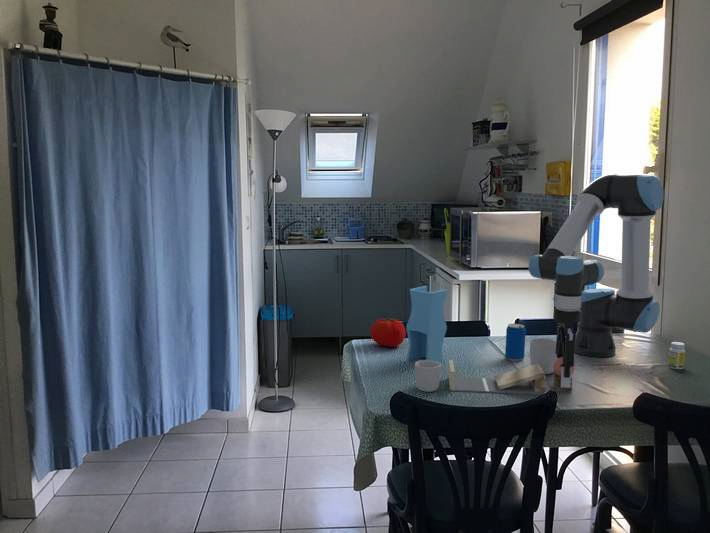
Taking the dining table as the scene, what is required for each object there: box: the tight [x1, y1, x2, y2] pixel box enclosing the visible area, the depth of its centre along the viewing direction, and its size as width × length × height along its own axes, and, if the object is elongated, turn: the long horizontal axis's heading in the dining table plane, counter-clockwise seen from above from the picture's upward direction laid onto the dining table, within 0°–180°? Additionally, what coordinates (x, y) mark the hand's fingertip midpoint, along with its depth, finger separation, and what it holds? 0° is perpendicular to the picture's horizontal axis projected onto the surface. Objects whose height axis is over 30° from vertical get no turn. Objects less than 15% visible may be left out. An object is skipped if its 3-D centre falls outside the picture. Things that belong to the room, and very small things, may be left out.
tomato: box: [370, 317, 407, 348], centre depth 239 cm, size 13×12×11 cm
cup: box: [414, 359, 442, 393], centre depth 193 cm, size 11×8×8 cm
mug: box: [529, 338, 558, 375], centre depth 211 cm, size 13×9×10 cm
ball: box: [553, 357, 575, 376], centre depth 193 cm, size 6×6×6 cm
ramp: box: [494, 363, 547, 392], centre depth 194 cm, size 14×9×6 cm, turn 84°
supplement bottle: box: [668, 341, 686, 370], centre depth 215 cm, size 5×5×8 cm
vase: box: [405, 285, 448, 363], centre depth 219 cm, size 10×10×25 cm
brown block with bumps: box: [553, 372, 573, 392], centre depth 193 cm, size 5×5×4 cm
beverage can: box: [504, 323, 527, 362], centre depth 223 cm, size 6×6×12 cm
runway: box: [447, 359, 551, 396], centre depth 195 cm, size 30×12×6 cm, turn 84°
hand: (562, 383), depth 193 cm, fingers closed on ball, 6 cm apart
